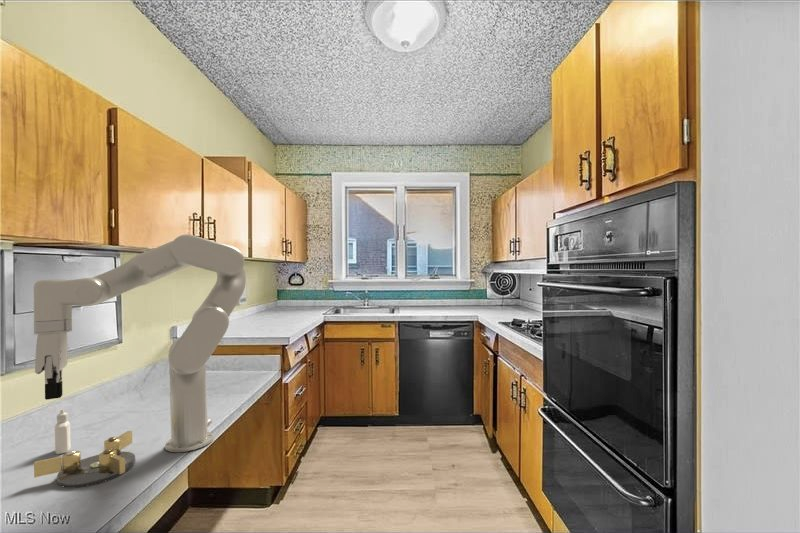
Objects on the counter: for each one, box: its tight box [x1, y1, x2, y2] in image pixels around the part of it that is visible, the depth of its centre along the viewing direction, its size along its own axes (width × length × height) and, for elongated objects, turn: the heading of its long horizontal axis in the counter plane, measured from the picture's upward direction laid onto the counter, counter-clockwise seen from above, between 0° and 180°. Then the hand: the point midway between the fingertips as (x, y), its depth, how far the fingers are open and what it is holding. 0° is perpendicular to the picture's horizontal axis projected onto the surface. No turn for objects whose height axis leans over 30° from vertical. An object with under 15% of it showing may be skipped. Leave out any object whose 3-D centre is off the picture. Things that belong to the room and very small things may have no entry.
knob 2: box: [103, 430, 133, 455], centre depth 112 cm, size 9×4×5 cm, turn 0°
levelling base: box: [56, 451, 136, 488], centre depth 104 cm, size 16×16×2 cm
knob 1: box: [33, 449, 82, 478], centre depth 100 cm, size 9×4×5 cm, turn 120°
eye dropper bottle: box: [54, 408, 72, 455], centre depth 117 cm, size 4×6×12 cm
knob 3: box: [98, 449, 126, 475], centre depth 100 cm, size 9×4×5 cm, turn 60°
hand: (53, 397), depth 104 cm, fingers closed
